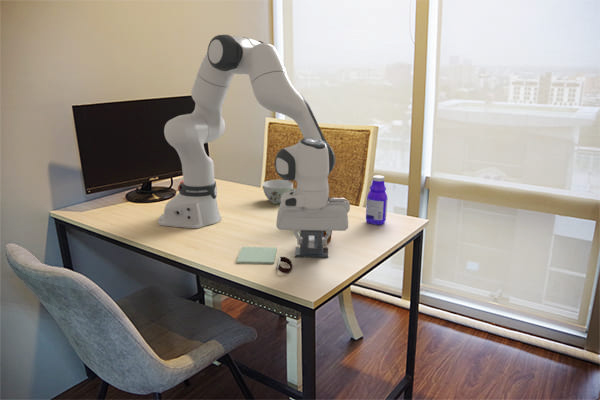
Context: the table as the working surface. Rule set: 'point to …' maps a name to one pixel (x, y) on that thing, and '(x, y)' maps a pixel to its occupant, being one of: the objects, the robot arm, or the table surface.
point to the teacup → (277, 189)
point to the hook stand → (311, 243)
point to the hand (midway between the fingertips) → (312, 243)
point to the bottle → (377, 201)
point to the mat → (257, 255)
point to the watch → (281, 269)
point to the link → (304, 241)
